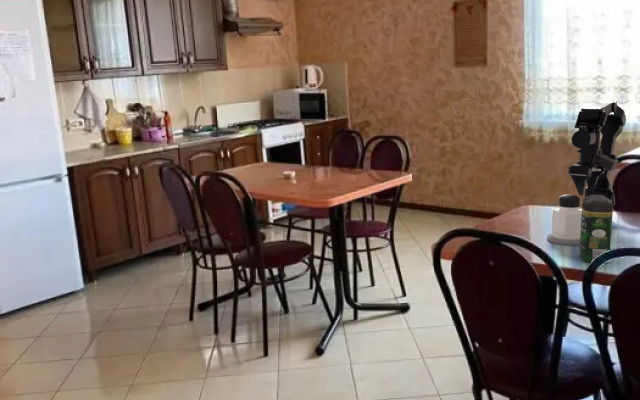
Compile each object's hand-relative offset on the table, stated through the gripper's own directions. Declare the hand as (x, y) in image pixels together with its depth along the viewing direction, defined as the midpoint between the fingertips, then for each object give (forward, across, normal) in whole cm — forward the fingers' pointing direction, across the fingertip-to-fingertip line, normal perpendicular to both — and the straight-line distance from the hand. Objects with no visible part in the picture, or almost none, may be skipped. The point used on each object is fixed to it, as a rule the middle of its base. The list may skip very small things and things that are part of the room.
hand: (586, 193), depth 205 cm
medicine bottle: (+11, -12, +1) cm, 17 cm away
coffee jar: (+14, -27, -12) cm, 33 cm away
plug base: (+14, -12, +1) cm, 18 cm away
